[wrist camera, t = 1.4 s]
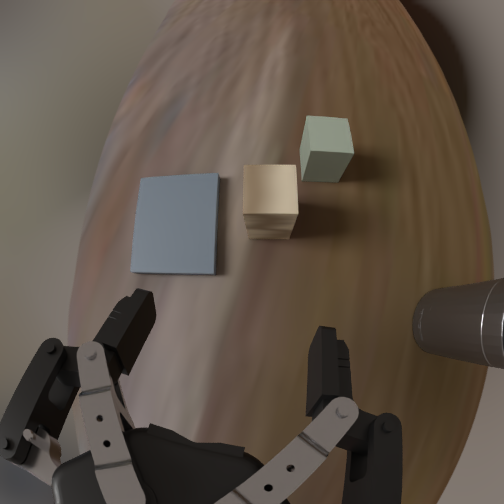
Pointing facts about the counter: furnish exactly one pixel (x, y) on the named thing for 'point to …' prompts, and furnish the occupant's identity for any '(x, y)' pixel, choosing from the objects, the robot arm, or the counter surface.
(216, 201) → the slate board
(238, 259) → the counter surface
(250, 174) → the birch block
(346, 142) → the sage block
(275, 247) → the counter surface
